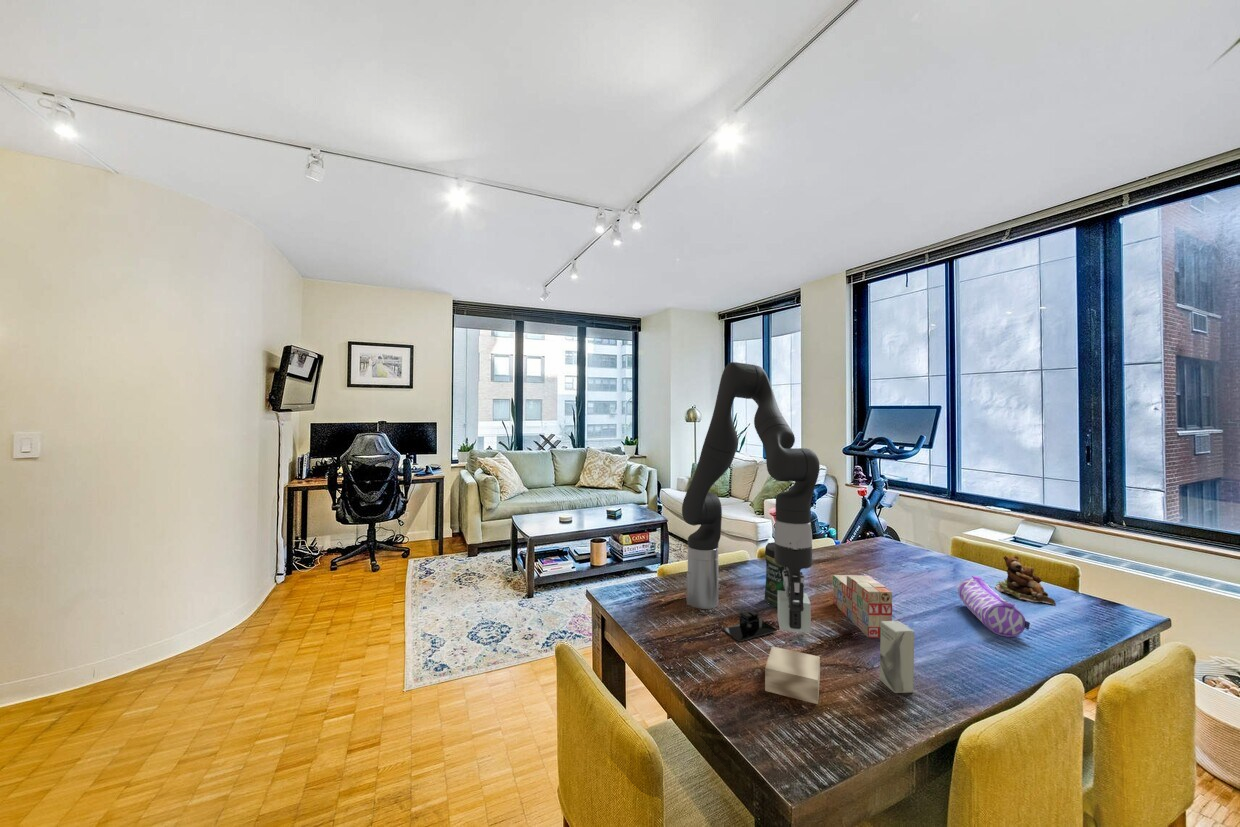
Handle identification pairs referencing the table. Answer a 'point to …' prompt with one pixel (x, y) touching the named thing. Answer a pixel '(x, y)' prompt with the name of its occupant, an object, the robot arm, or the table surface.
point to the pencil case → (991, 608)
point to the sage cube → (784, 613)
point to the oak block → (793, 674)
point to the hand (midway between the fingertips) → (793, 621)
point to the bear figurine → (1023, 583)
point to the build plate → (749, 627)
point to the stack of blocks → (863, 602)
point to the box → (897, 656)
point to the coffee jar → (773, 576)
